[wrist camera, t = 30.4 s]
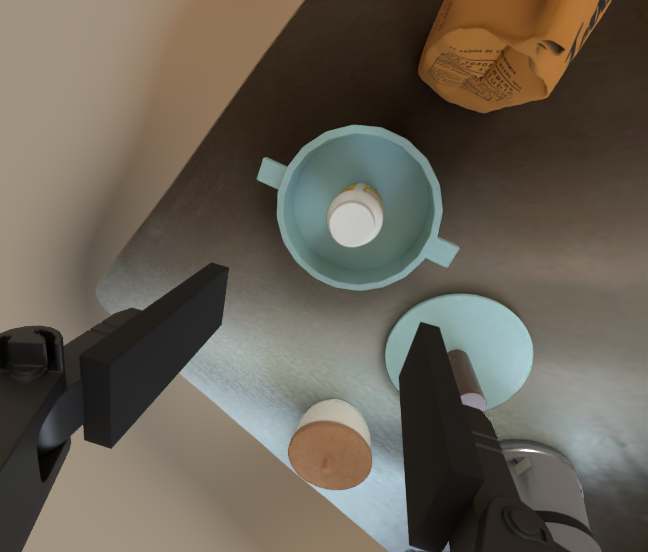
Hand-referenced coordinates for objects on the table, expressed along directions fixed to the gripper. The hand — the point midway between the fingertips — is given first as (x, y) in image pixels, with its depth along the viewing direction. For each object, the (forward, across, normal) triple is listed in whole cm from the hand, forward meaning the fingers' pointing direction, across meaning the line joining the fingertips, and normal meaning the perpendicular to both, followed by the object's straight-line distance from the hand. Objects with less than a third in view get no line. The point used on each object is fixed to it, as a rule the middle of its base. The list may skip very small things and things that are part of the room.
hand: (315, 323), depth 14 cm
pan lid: (+27, +17, -15) cm, 35 cm away
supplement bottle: (+27, 0, 0) cm, 27 cm away
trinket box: (+28, +5, -30) cm, 41 cm away
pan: (+28, 0, 0) cm, 28 cm away
